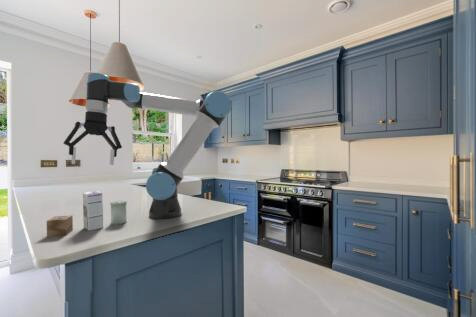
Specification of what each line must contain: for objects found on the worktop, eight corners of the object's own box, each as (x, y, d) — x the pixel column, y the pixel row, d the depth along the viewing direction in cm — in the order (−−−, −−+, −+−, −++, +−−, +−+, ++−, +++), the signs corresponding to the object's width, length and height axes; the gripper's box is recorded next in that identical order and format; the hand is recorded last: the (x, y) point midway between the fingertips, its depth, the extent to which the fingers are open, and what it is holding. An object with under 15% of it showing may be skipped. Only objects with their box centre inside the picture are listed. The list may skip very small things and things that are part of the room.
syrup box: (103, 227, 94) (103, 192, 94) (87, 231, 90) (86, 193, 89) (99, 224, 98) (98, 190, 98) (82, 228, 93) (82, 192, 93)
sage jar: (129, 220, 105) (129, 200, 104) (122, 224, 98) (121, 203, 98) (116, 220, 105) (115, 200, 105) (107, 224, 98) (107, 203, 98)
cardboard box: (72, 230, 91) (72, 215, 91) (66, 235, 85) (66, 219, 85) (54, 232, 89) (54, 216, 89) (46, 237, 83) (46, 220, 83)
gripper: (125, 118, 106) (122, 164, 106) (56, 107, 89) (53, 162, 89) (131, 116, 101) (128, 165, 101) (59, 105, 83) (56, 163, 83)
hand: (93, 164), depth 95 cm, fingers open, 13 cm apart
